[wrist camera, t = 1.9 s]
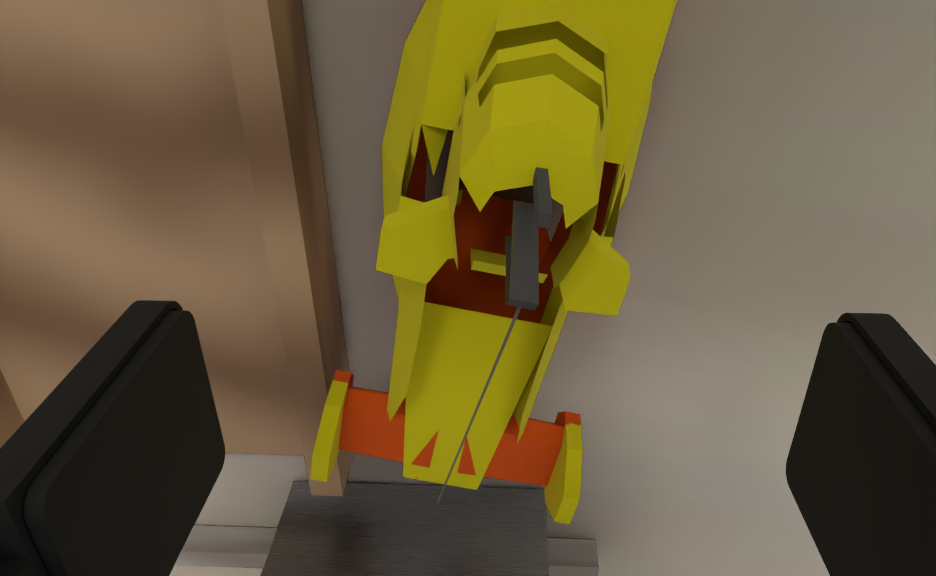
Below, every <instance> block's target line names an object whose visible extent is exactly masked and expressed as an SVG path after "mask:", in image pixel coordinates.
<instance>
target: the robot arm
mask: <svg viewBox="0 0 936 576" xmlns="http://www.w3.org/2000/svg"><path fill="white" fill-rule="evenodd" d="M224 460H225V444H224V440H223V435H222V431H221V427H220V423H219V419H218V415H217V411H216V406H215V402H214V398H213V394H212V390H211V386H210V382H209V378H208V373H207V369H206V365H205V361H204V357H203V353H202V349H201V344H200V340H199V336H198V332H197V328H196V324H195V320H194V317H193V315H192V313H191V312H189V311H184V310H183V309H182V307H181V306H180V304H179V303H178V302H176V301H154V300H139V301H135V302H134V303H132V304H131V305H130V306H129V307H128V308H127V310H126V311H125V312H124V313H123V314H122V315H121V316H120V317H119V318H118V319H117V321H116V322H115V323H114V324H113V325H112V326H111V327H110V328H109V329H108V330H107V332H106V333H105V334H104V335H103V336H102V337H101V338H100V339H99V340H98V341H97V343H96V344H95V345H94V346H93V347H92V348H91V349H90V350H89V351H88V352H87V354H86V355H85V356H84V357H83V358H82V359H81V360H80V361H79V362H78V363H77V365H76V366H75V367H74V368H73V369H72V370H71V371H70V372H69V373H68V374H67V376H66V377H65V378H64V379H63V380H62V381H61V382H60V383H59V384H58V385H57V387H56V388H55V389H54V390H53V391H52V392H51V393H50V394H49V395H48V396H47V398H46V399H45V400H44V401H43V402H42V403H41V404H40V405H39V406H38V407H37V409H36V410H35V411H34V412H33V413H32V414H31V415H30V416H29V417H28V418H27V420H26V421H25V422H24V423H23V424H22V425H21V426H20V427H19V428H18V429H17V431H16V432H15V433H14V434H13V435H12V436H11V437H10V438H9V439H8V440H7V441H6V443H5V444H4V445H3V446H2V447H1V448H0V576H169V575H170V573H171V571H172V569H173V567H174V565H175V563H176V561H177V559H178V557H179V554H180V552H181V550H182V548H183V546H184V544H185V542H186V540H187V538H188V536H189V534H190V532H191V530H192V528H193V526H194V524H195V522H196V520H197V518H198V516H199V514H200V512H201V510H202V508H203V506H204V504H205V502H206V500H207V498H208V496H209V494H210V492H211V490H212V488H213V486H214V484H215V482H216V480H217V478H218V476H219V474H220V472H221V470H222V467H223V464H224ZM786 477H787V482H788V485H789V488H790V490H791V492H792V494H793V496H794V499H795V501H796V503H797V505H798V507H799V509H800V511H801V514H802V516H803V518H804V520H805V522H806V524H807V527H808V529H809V531H810V533H811V535H812V537H813V540H814V542H815V544H816V546H817V548H818V550H819V553H820V555H821V557H822V559H823V561H824V563H825V565H826V568H827V570H828V572H829V574H830V576H936V365H935V364H934V363H933V362H932V360H931V359H930V358H929V357H928V356H927V355H926V354H925V353H924V351H923V350H922V349H921V348H920V347H919V346H918V345H917V344H916V342H915V341H914V340H913V339H912V338H911V337H910V336H909V335H908V333H907V332H906V331H905V330H904V329H903V328H902V327H901V326H900V324H899V323H898V322H897V321H896V320H895V319H894V318H893V317H892V316H891V315H889V314H876V313H845V314H843V315H841V317H840V318H839V319H838V321H837V323H830V324H828V325H827V326H826V328H825V330H824V333H823V336H822V340H821V343H820V347H819V350H818V354H817V357H816V361H815V364H814V368H813V371H812V375H811V378H810V382H809V385H808V389H807V392H806V395H805V399H804V402H803V406H802V409H801V413H800V416H799V420H798V423H797V427H796V430H795V434H794V437H793V441H792V444H791V448H790V451H789V455H788V458H787V463H786Z"/></svg>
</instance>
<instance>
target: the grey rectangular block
mask: <svg viewBox="0 0 936 576" xmlns="http://www.w3.org/2000/svg"><path fill="white" fill-rule="evenodd" d="M442 488H443V486H431V485H401V484H371V483H346V486H345V490H344V494H343V496H319V495H311V490H310V485H309V481H294V482H293V485H292V488H291V491H290V493H289V496H288V499H287V502H286V505H285V508H284V510H283V513H282V516H281V519H280V522H279V525H278V528H277V530H276V533H275V536H274V539H273V542H272V545H271V547H270V550H269V553H268V556H267V559H266V562H265V565H264V567H263V570H262V573H261V576H549V565H548V545H547V524H546V504H545V492H544V489H522V488H492V487H478V489H477V490H474V489H468V488H463V487H457V486H445V489H444V491H443V493H442V496H441V498H440V500H439V503H438V505H437V500H438V498H439V495H440V493H441V491H442Z"/></svg>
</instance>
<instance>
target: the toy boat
mask: <svg viewBox="0 0 936 576" xmlns="http://www.w3.org/2000/svg"><path fill="white" fill-rule="evenodd" d="M677 1H678V0H426V1H425V3H424V5H423V8H422V10H421V12H420V14H419V16H418V18H417V20H416V22H415V24H414V26H413V28H412V30H411V32H410V34H409V36H408V38H407V40H406V42H405V44H404V48H403V53H402V57H401V61H400V66H399V70H398V75H397V79H396V84H395V88H394V93H393V97H392V102H391V106H390V111H389V115H388V120H387V124H386V129H385V133H384V138H383V142H382V178H383V225H382V228H381V234H380V241H379V249H378V256H377V263H376V270H378V271H381V272H385V273H388V274H392V275H393V280H394V284H395V289H396V293H397V298H398V302H399V309H398V318H397V327H396V335H395V344H394V352H393V361H392V369H391V378H390V386H389V393H388V392H382V391H375V390H369V389H362V388H355V387H352V384H353V376H354V375H353V374H352V373H351V372H345V371H340V370H336V372H335V375H334V378H333V381H332V384H331V387H330V390H329V393H328V396H327V400H326V403H325V406H324V410H323V414H322V418H321V422H320V426H319V430H318V434H317V438H316V442H315V446H314V450H313V456H312V466H311V477H310V479H312V480H317V481H323V482H327V480H328V478H329V476H330V474H331V473H332V471H333V469H334V467H335V463H336V460H337V457H338V453H339V450H345V451H350V452H355V453H360V454H364V455H369V456H374V457H379V458H384V459H388V460H393V461H398V462H403V477H405V478H411V479H417V480H423V481H428V482H434V483H440V484H444V486H443V488H442V491H441V493H440V495H439V498H438V500H437V505H438V503H439V500H440V498H441V496H442V493H443V491H444V489H445V486H446V485H451V486H457V487H463V488H468V489H474V490H477V489H478V487H479V485H480V483H481V481H482V478H483V477H489V478H496V479H503V480H510V481H517V482H524V483H531V484H537V485H544V492H545V504H546V506H547V508H548V510H549V512H550V514H551V516H552V518H553V520H554V522H559V523H565V524H570V522H571V520H572V518H573V515H574V513H575V510H576V508H577V505H578V503H579V501H580V487H581V472H582V456H583V446H582V434H581V422H580V414H576V413H571V412H559V413H558V414H557V417H556V420H555V423H550V422H545V421H540V420H535V419H531V418H529V416H530V413H531V410H532V408H533V405H534V402H535V400H536V397H537V394H538V392H539V389H540V386H541V384H542V381H543V378H544V376H545V373H546V370H547V368H548V365H549V362H550V359H551V357H552V354H553V351H554V349H555V346H556V343H557V341H558V338H559V335H560V333H561V330H562V327H563V325H564V322H565V319H566V317H567V314H568V311H575V312H585V313H594V314H604V315H614V316H617V314H618V312H619V309H620V306H621V304H622V301H623V298H624V295H625V293H626V290H627V287H628V284H629V282H630V279H631V275H630V264H629V262H628V261H627V260H626V259H624V258H623V257H622V256H621V255H620V254H619V253H618V252H617V251H616V250H615V249H613V248H612V247H611V244H612V241H613V238H614V234H615V229H616V224H617V218H618V213H619V211H620V209H621V207H622V205H623V203H624V201H625V199H626V197H627V195H628V192H629V188H630V184H631V179H632V175H633V171H634V167H635V163H636V159H637V155H638V151H639V147H640V142H641V138H642V134H643V130H644V126H645V122H646V118H647V114H648V109H649V105H650V101H651V97H652V82H653V79H654V75H655V72H656V69H657V66H658V62H659V59H660V56H661V53H662V49H663V46H664V43H665V40H666V36H667V33H668V30H669V27H670V23H671V20H672V17H673V14H674V10H675V7H676V4H677ZM448 130H452V131H454V132H453V137H452V143H451V148H450V153H449V159H448V164H447V170H446V175H445V181H444V186H443V191H442V196H441V197H440V198H437V199H434V200H431V201H428V202H425V203H424V200H425V181H426V162H427V151H428V156H429V160H430V164H431V168H432V173H433V177H434V174H435V170H436V167H437V164H438V161H439V158H440V154H441V151H442V148H443V145H444V141H445V138H446V135H447V132H448ZM459 176H460V178H461V179H462V181H463V183H464V185H465V187H466V188H467V190H468V191H465V190H460V189H458V188H459ZM531 185H532V186H533V193H534V204H531V203H526V202H520V201H515V200H510V199H505V198H500V197H495V196H491V195H492V194H493V193H494V192H495V191H501V190H507V189H513V188H519V187H525V186H531ZM551 198H552V199H554V200H556V201H557V202H559V203H560V204H562V205H563V210H564V212H563V214H562V217H561V219H560V222H559V224H558V227H557V229H556V232H555V234H554V237H553V239H552V241H551V243H550V240H549V236H548V233H547V229H549V227H550V224H551V220H552V217H553V209H552V200H551ZM546 228H547V229H546Z"/></svg>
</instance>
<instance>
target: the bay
mask: <svg viewBox="0 0 936 576" xmlns="http://www.w3.org/2000/svg"><path fill="white" fill-rule="evenodd" d="M139 300H154V301H176V302H178V303H179V304H180V306H181V307H182V309H183V310H184V311H189V312H191V313H192V315H193V317H194V320H195V324H196V328H197V332H198V336H199V340H200V344H201V349H202V353H203V357H204V361H205V365H206V369H207V373H208V378H209V382H210V386H211V390H212V394H213V398H214V402H215V406H216V411H217V415H218V419H219V423H220V427H221V431H222V435H223V440H224V444H225V453H242V454H274V455H304V458H305V464H306V469H307V474H308V480H309V485H310V490H311V495H319V496H343V494H344V490H345V486H346V482H347V479H348V475H349V471H350V467H351V464H352V460H353V456H354V452H350V451H345V450H339V453H338V457H337V460H336V463H335V467H334V469H333V471H332V473H331V474H330V476H329V478H328V480H327V482H323V481H317V480H312V479H310V477H311V466H312V456H313V450H314V446H315V442H316V438H317V434H318V430H319V426H320V422H321V418H322V414H323V410H324V406H325V403H326V400H327V396H328V393H329V390H330V387H331V384H332V381H333V378H334V375H335V372H336V370H340V371H345V372H349V368H348V360H347V353H346V345H345V337H344V329H343V322H342V314H341V306H340V298H339V291H338V283H337V275H336V267H335V260H334V252H333V244H332V236H331V229H330V221H329V213H328V205H327V198H326V190H325V182H324V174H323V167H322V159H321V151H320V143H319V136H318V128H317V120H316V112H315V105H314V97H313V89H312V81H311V74H310V66H309V58H308V50H307V43H306V35H305V27H304V19H303V12H302V4H301V0H0V448H1V447H2V446H3V445H4V444H5V443H6V441H7V440H8V439H9V438H10V437H11V436H12V435H13V434H14V433H15V432H16V431H17V429H18V428H19V427H20V426H21V425H22V424H23V423H24V422H25V421H26V420H27V418H28V417H29V416H30V415H31V414H32V413H33V412H34V411H35V410H36V409H37V407H38V406H39V405H40V404H41V403H42V402H43V401H44V400H45V399H46V398H47V396H48V395H49V394H50V393H51V392H52V391H53V390H54V389H55V388H56V387H57V385H58V384H59V383H60V382H61V381H62V380H63V379H64V378H65V377H66V376H67V374H68V373H69V372H70V371H71V370H72V369H73V368H74V367H75V366H76V365H77V363H78V362H79V361H80V360H81V359H82V358H83V357H84V356H85V355H86V354H87V352H88V351H89V350H90V349H91V348H92V347H93V346H94V345H95V344H96V343H97V341H98V340H99V339H100V338H101V337H102V336H103V335H104V334H105V333H106V332H107V330H108V329H109V328H110V327H111V326H112V325H113V324H114V323H115V322H116V321H117V319H118V318H119V317H120V316H121V315H122V314H123V313H124V312H125V311H126V310H127V308H128V307H129V306H130V305H131V304H132V303H134V302H135V301H139ZM276 530H277V528H262V527H234V526H207V525H194V526H193V528H192V530H191V532H190V534H189V536H188V538H187V540H186V542H185V544H184V546H183V548H182V550H181V552H180V554H179V557H178V559H177V561H176V563H175V565H193V566H218V567H244V568H263V567H264V565H265V562H266V559H267V556H268V553H269V550H270V547H271V545H272V542H273V539H274V536H275V533H276ZM547 545H548V565H549V576H598V568H599V567H598V558H597V550H596V542H595V540H589V539H562V538H547Z"/></svg>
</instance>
